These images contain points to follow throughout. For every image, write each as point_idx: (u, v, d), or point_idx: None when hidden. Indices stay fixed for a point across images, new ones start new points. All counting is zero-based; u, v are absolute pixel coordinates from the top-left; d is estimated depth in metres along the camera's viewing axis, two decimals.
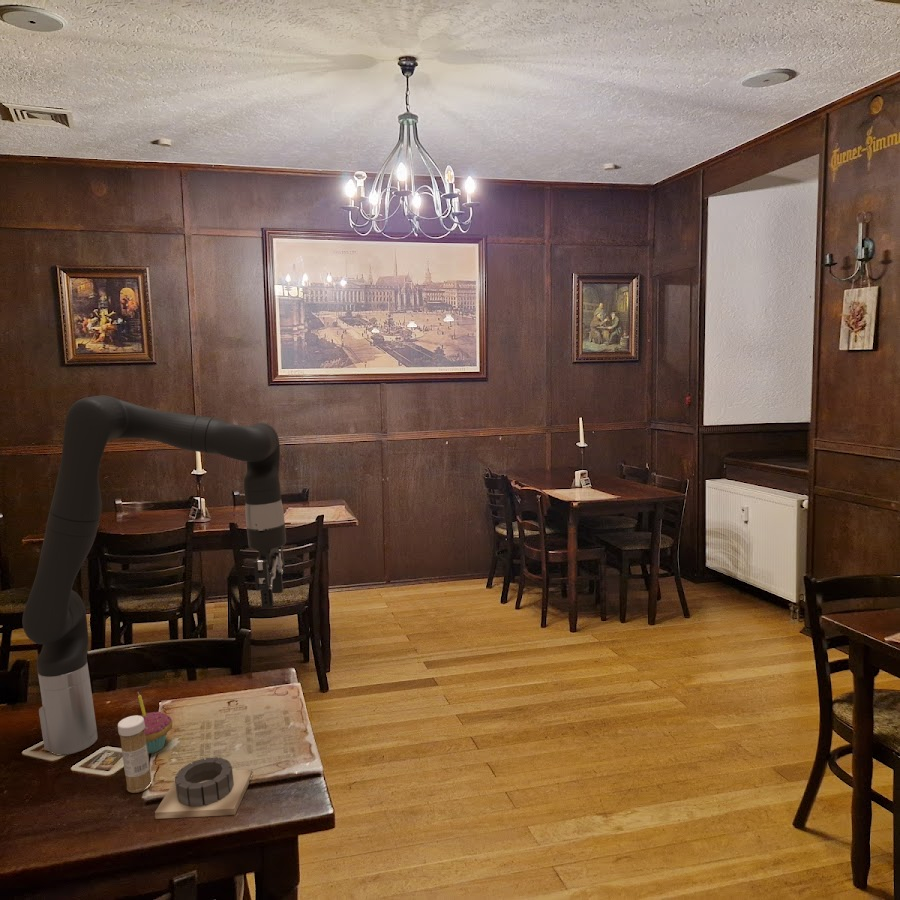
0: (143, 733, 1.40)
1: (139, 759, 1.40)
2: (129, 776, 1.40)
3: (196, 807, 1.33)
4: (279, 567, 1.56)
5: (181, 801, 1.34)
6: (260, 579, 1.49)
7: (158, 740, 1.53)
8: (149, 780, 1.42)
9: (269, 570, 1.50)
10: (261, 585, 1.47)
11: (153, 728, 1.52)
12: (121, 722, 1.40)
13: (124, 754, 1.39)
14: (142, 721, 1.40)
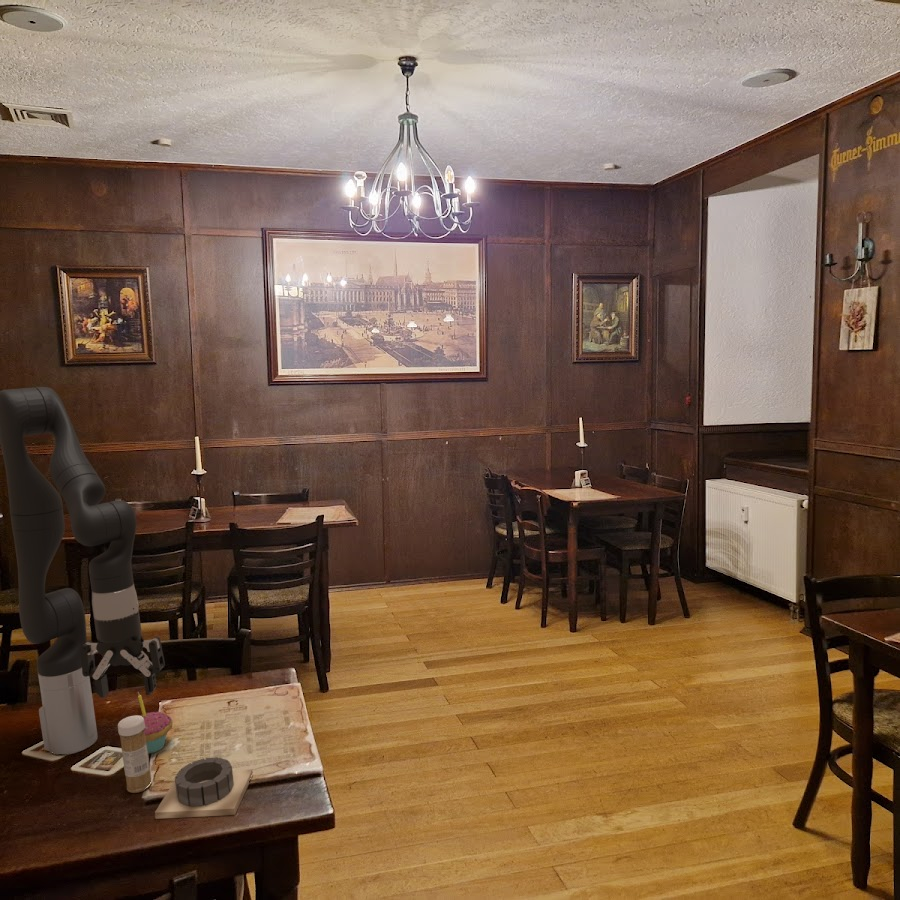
0: (143, 733, 1.40)
1: (139, 759, 1.40)
2: (129, 776, 1.40)
3: (196, 807, 1.33)
4: None
5: (181, 801, 1.34)
6: (144, 665, 1.37)
7: (158, 740, 1.53)
8: (149, 780, 1.42)
9: (138, 656, 1.39)
10: (160, 665, 1.38)
11: (153, 728, 1.52)
12: (121, 722, 1.40)
13: (124, 754, 1.39)
14: (142, 721, 1.40)
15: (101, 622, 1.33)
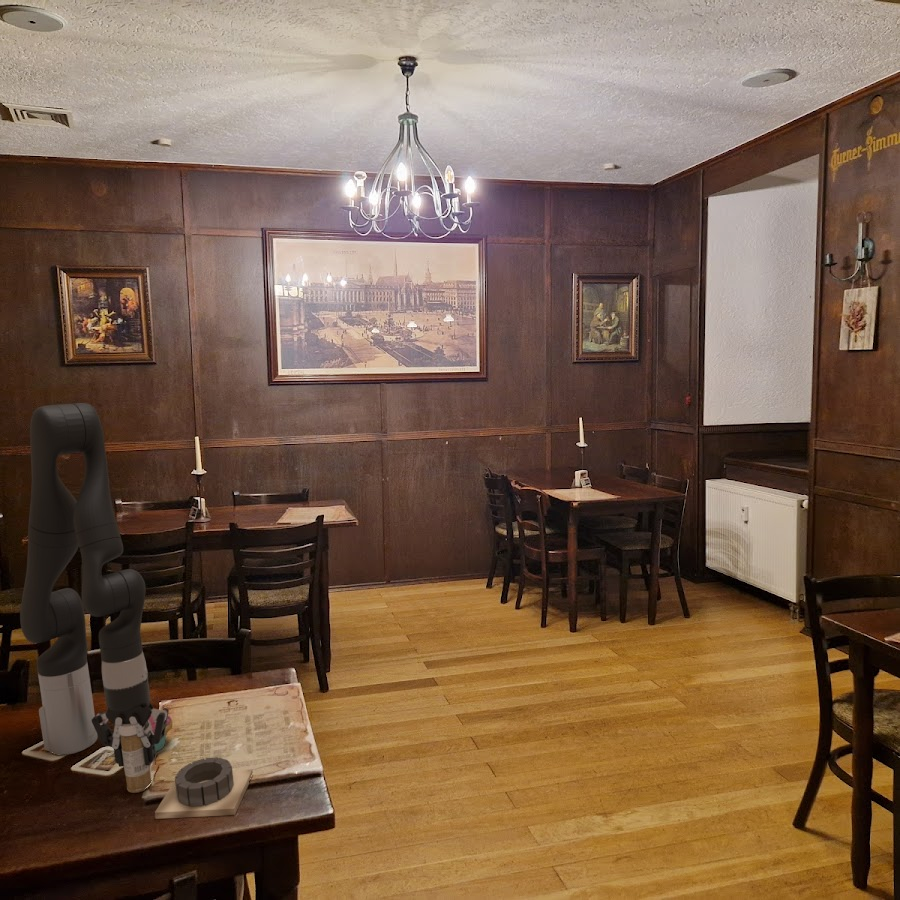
0: None
1: (139, 759, 1.40)
2: (129, 776, 1.40)
3: (196, 807, 1.33)
4: None
5: (181, 801, 1.34)
6: (147, 736, 1.40)
7: None
8: (149, 780, 1.42)
9: (147, 721, 1.41)
10: None
11: (153, 728, 1.52)
12: None
13: (124, 754, 1.39)
14: None
15: (111, 691, 1.35)
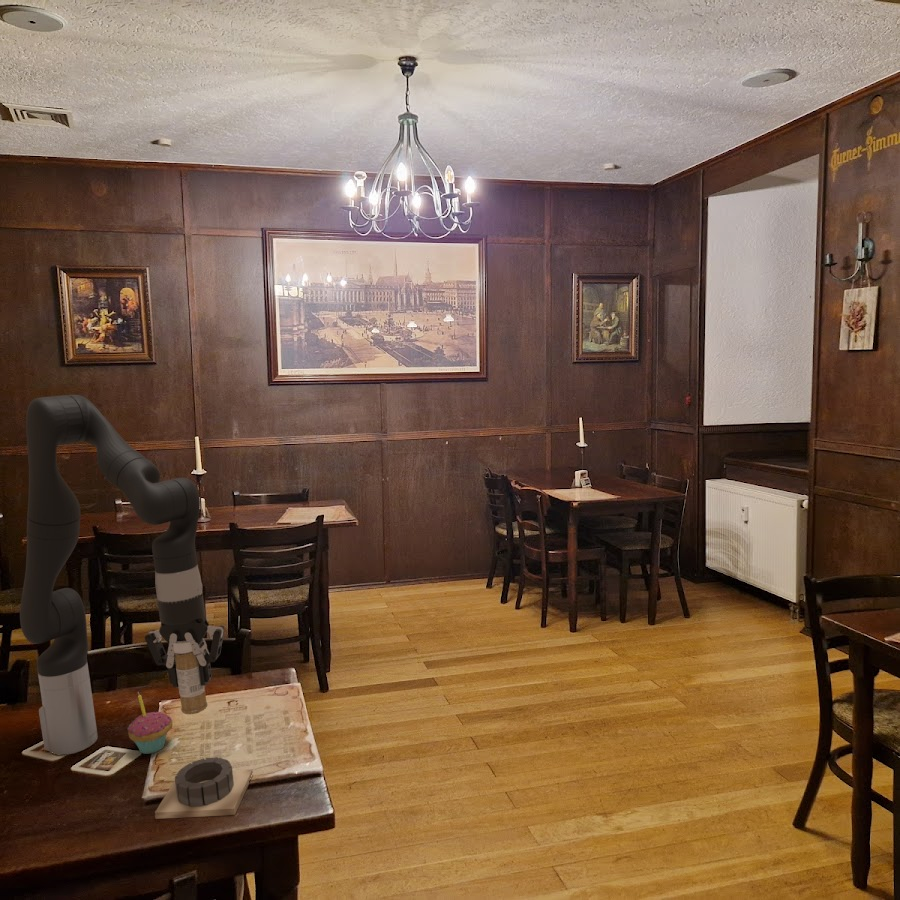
0: None
1: (195, 678, 1.33)
2: (184, 697, 1.33)
3: (196, 807, 1.33)
4: None
5: (181, 801, 1.34)
6: (203, 654, 1.33)
7: (158, 740, 1.53)
8: (205, 702, 1.35)
9: (202, 639, 1.34)
10: None
11: (153, 728, 1.52)
12: None
13: (179, 673, 1.32)
14: None
15: (166, 604, 1.29)
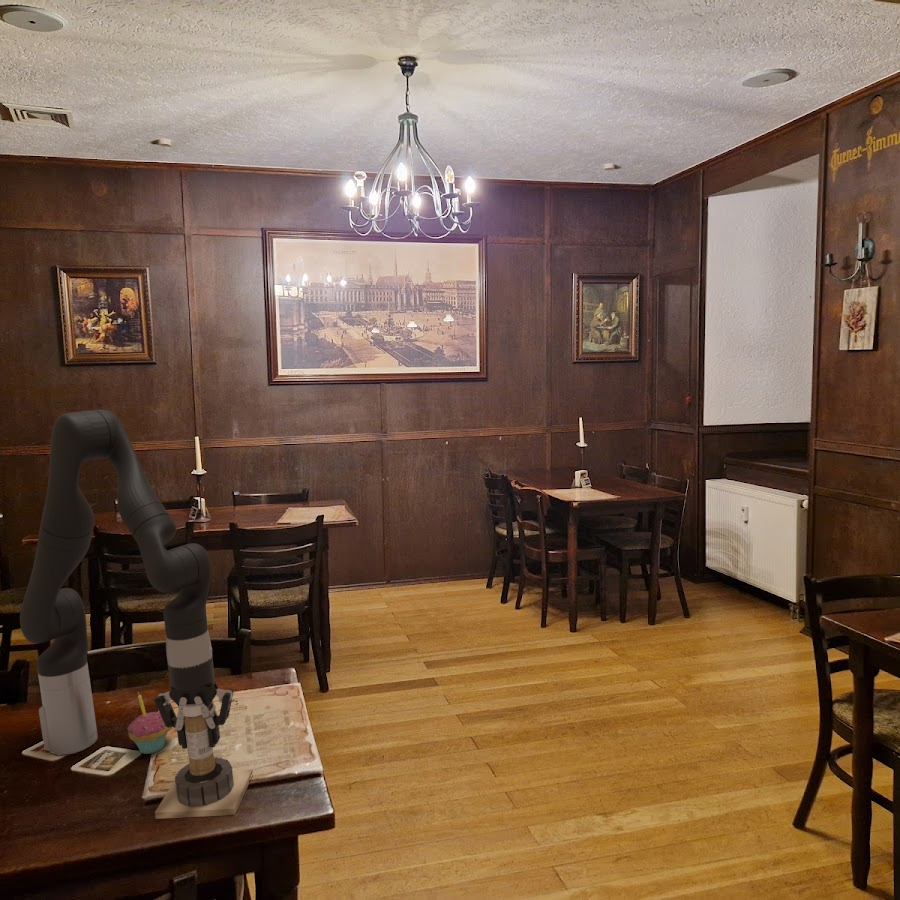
0: None
1: (203, 741, 1.35)
2: (192, 758, 1.35)
3: (196, 807, 1.33)
4: None
5: (181, 801, 1.34)
6: (212, 717, 1.35)
7: (158, 740, 1.53)
8: (213, 763, 1.37)
9: None
10: None
11: (153, 728, 1.52)
12: None
13: (188, 736, 1.34)
14: None
15: (176, 669, 1.30)
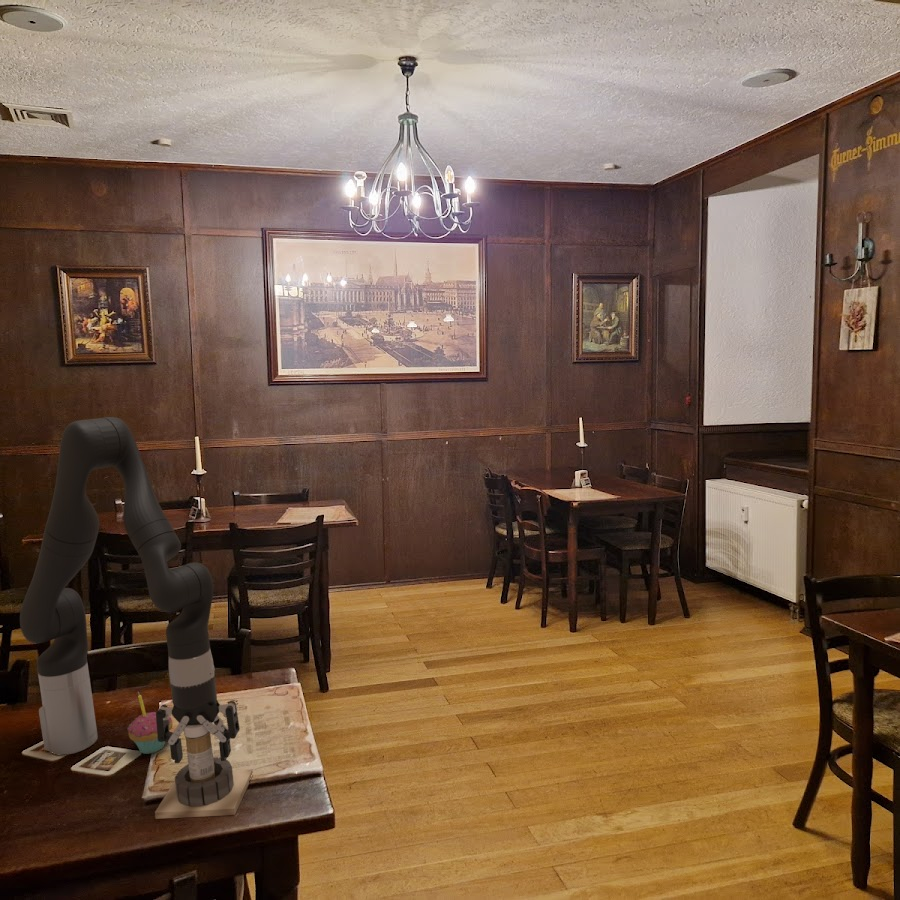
0: (209, 734, 1.36)
1: (205, 761, 1.35)
2: (194, 779, 1.35)
3: (196, 807, 1.33)
4: None
5: (181, 801, 1.34)
6: (220, 731, 1.35)
7: None
8: None
9: None
10: (235, 730, 1.36)
11: (153, 728, 1.52)
12: None
13: (190, 756, 1.35)
14: None
15: (179, 688, 1.31)
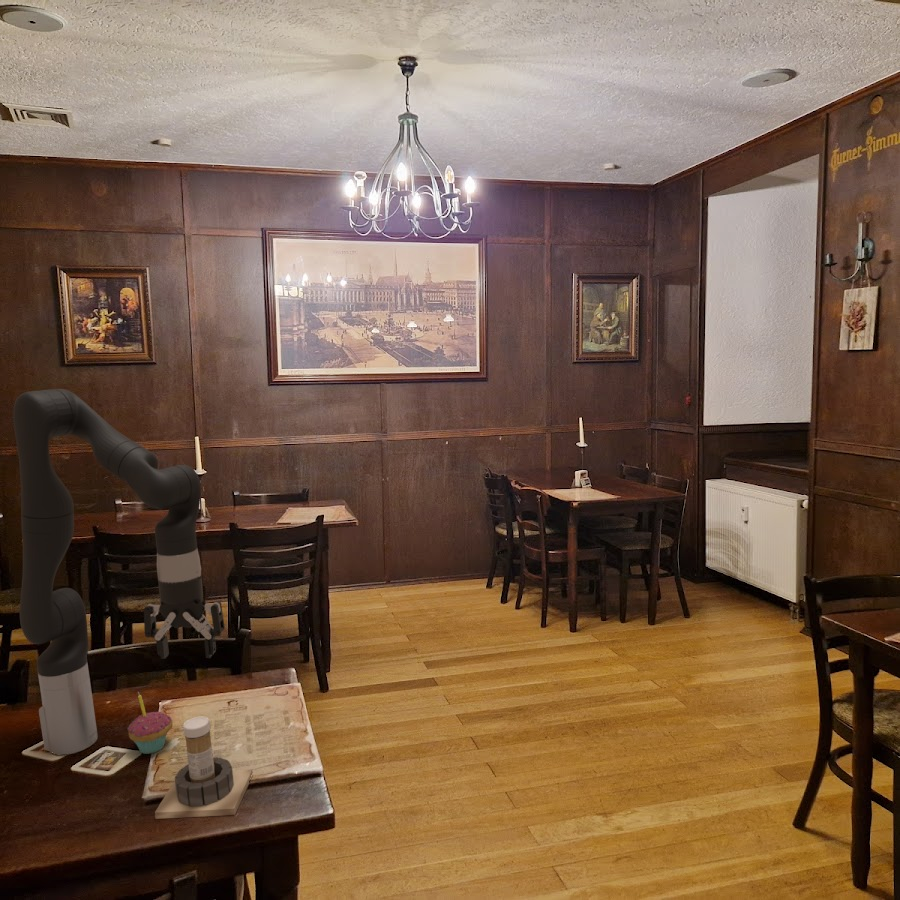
0: (209, 734, 1.36)
1: (205, 761, 1.35)
2: (194, 779, 1.35)
3: (196, 807, 1.33)
4: None
5: (181, 801, 1.34)
6: (206, 628, 1.40)
7: (158, 740, 1.53)
8: None
9: (199, 619, 1.41)
10: (220, 628, 1.40)
11: (153, 728, 1.52)
12: (186, 723, 1.35)
13: (190, 756, 1.35)
14: (208, 722, 1.36)
15: (166, 584, 1.36)
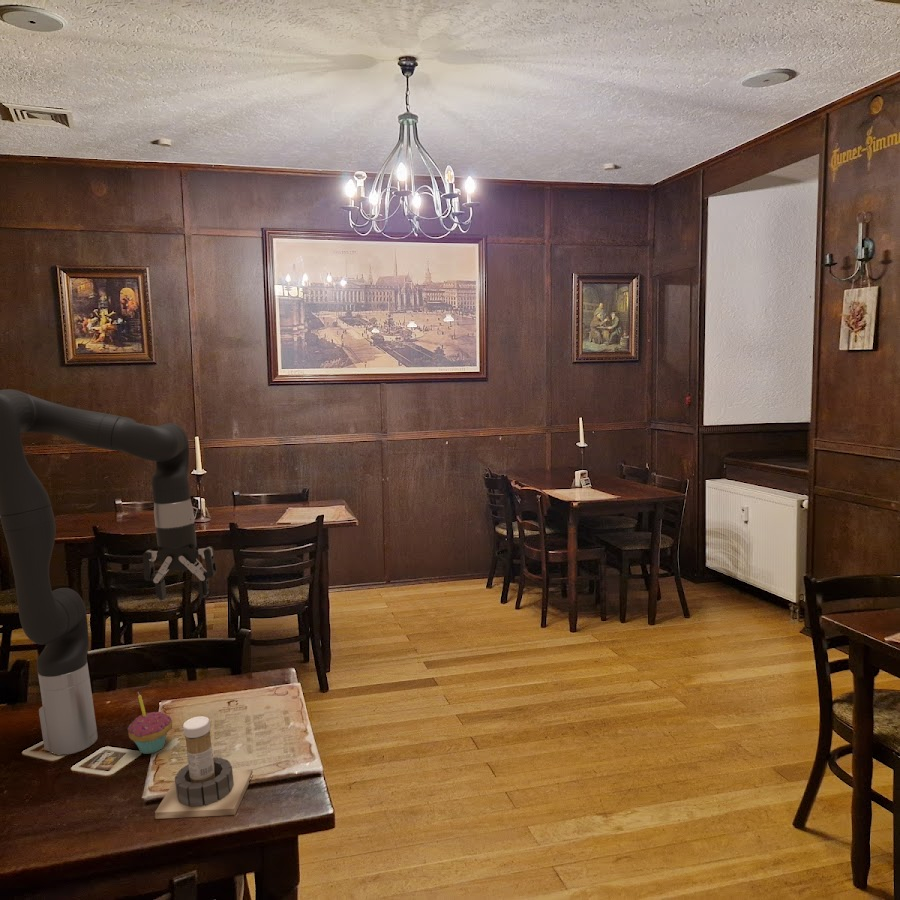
0: (209, 734, 1.36)
1: (205, 761, 1.35)
2: (194, 779, 1.35)
3: (196, 807, 1.33)
4: (169, 569, 1.57)
5: (181, 801, 1.34)
6: (199, 570, 1.54)
7: (158, 740, 1.53)
8: None
9: (193, 563, 1.56)
10: None
11: (153, 728, 1.52)
12: (186, 723, 1.35)
13: (190, 756, 1.35)
14: (208, 722, 1.36)
15: (163, 530, 1.50)
